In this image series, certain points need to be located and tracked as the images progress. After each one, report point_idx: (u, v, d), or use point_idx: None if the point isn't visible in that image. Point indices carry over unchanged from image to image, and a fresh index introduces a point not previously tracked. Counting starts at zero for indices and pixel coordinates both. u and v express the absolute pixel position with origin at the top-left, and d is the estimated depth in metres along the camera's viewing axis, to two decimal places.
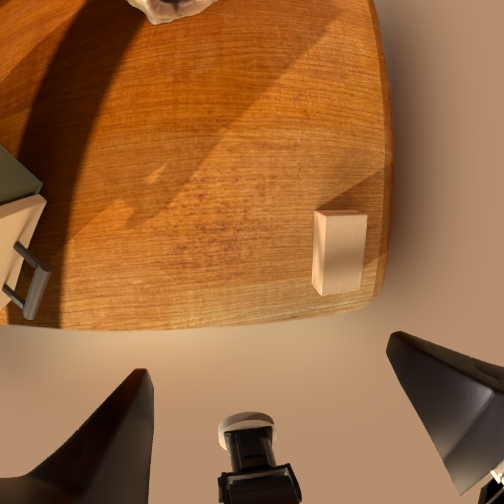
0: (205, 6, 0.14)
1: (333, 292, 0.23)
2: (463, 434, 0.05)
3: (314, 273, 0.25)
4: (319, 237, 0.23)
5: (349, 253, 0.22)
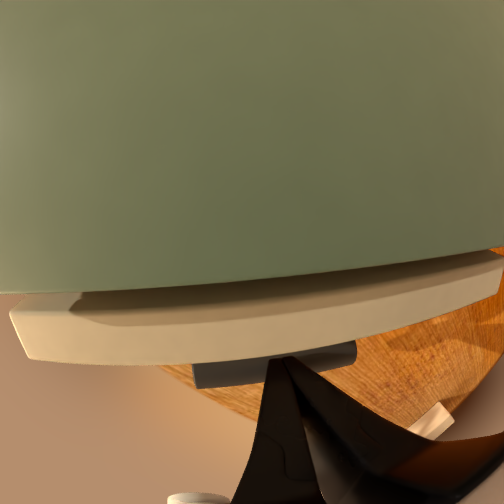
0: None
1: None
2: (343, 496, 0.04)
3: None
4: (430, 421, 0.20)
5: (430, 438, 0.20)
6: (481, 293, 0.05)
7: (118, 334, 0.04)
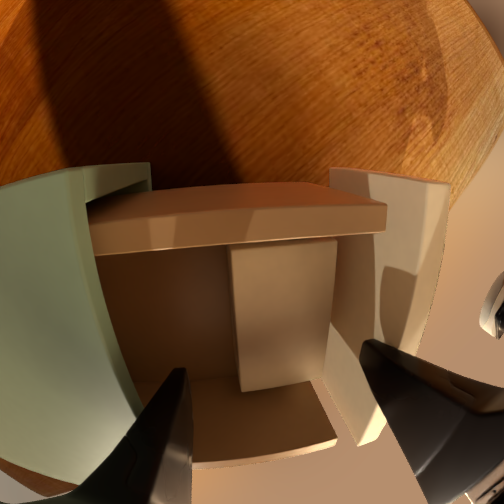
0: None
1: (266, 387, 0.12)
2: (436, 452, 0.05)
3: (234, 348, 0.13)
4: (230, 288, 0.11)
5: (295, 323, 0.11)
6: (443, 222, 0.07)
7: (379, 416, 0.10)
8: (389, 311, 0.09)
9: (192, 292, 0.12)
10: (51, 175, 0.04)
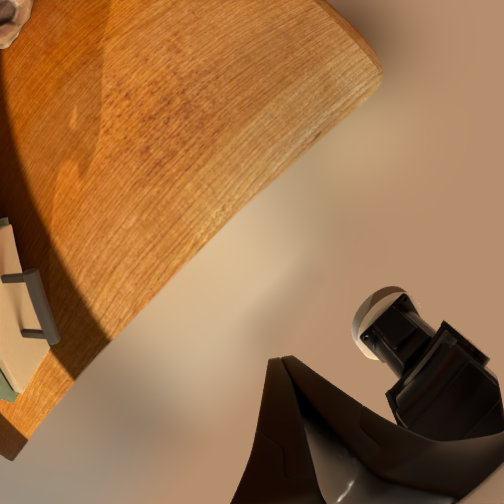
0: (28, 2, 0.08)
1: None
2: (343, 496, 0.04)
3: None
4: None
5: None
6: None
7: (3, 369, 0.13)
8: None
9: None
10: None
